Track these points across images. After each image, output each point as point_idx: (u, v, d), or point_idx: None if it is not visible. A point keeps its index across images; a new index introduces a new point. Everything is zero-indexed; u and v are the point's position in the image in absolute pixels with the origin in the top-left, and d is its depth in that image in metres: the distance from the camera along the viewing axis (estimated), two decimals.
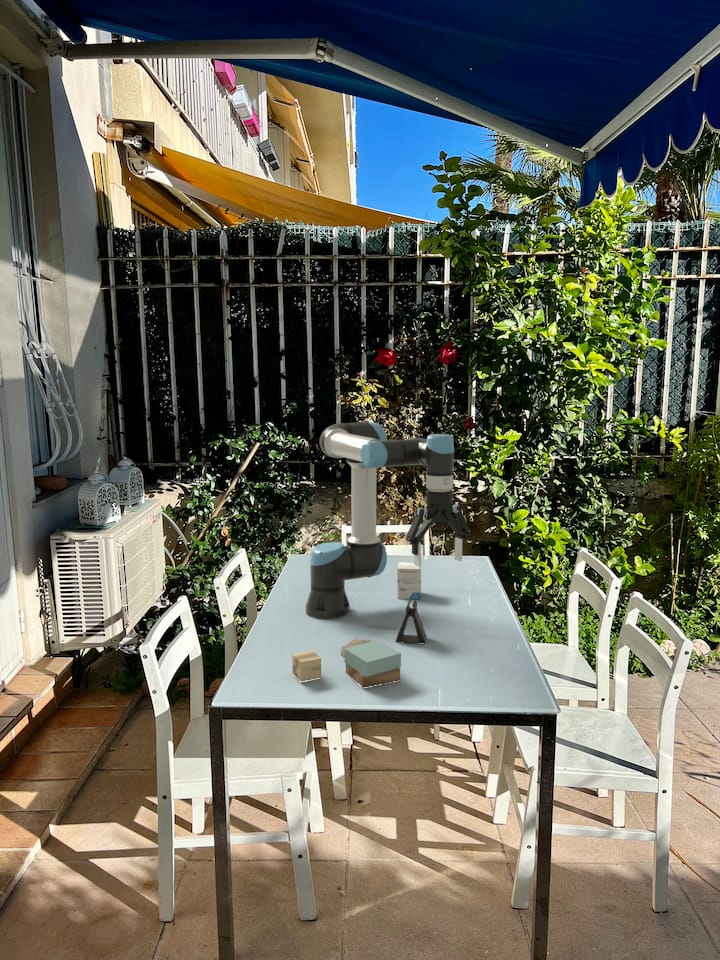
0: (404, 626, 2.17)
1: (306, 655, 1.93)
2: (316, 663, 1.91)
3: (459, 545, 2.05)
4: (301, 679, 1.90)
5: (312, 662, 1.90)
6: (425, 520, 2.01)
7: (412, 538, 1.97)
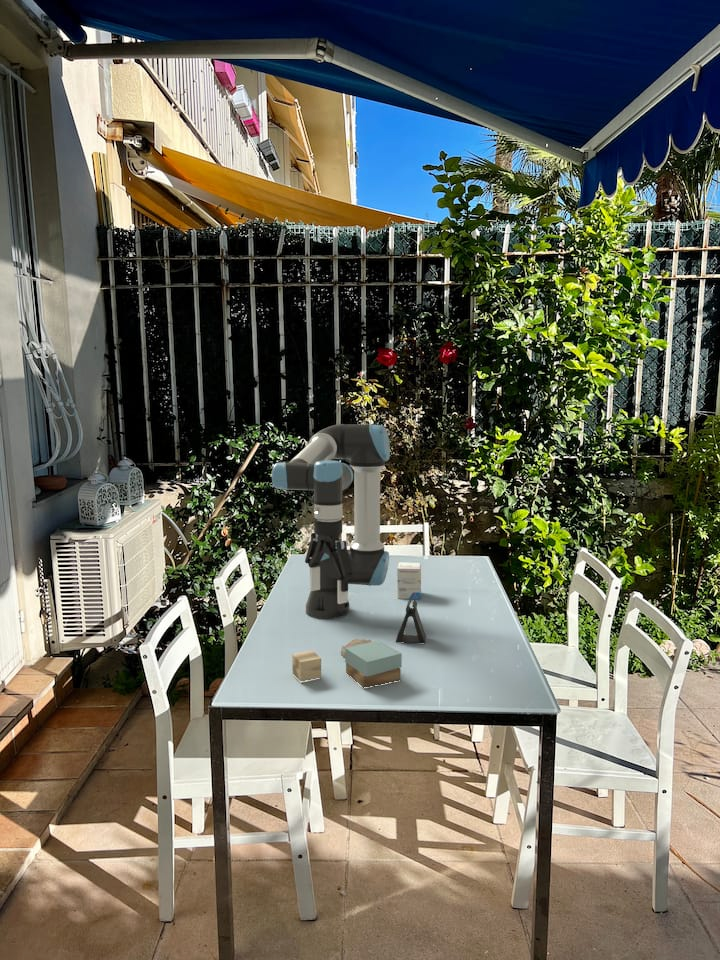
0: (404, 626, 2.17)
1: (306, 655, 1.93)
2: (316, 663, 1.91)
3: None
4: (301, 679, 1.90)
5: (312, 662, 1.90)
6: None
7: (306, 559, 1.98)
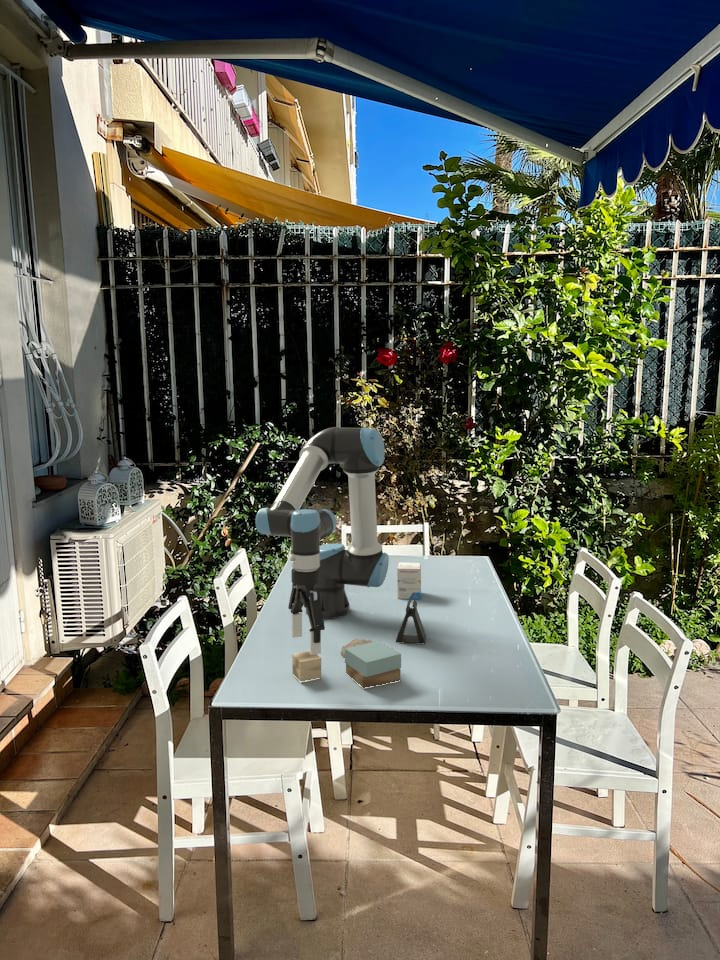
0: (404, 626, 2.17)
1: (306, 655, 1.93)
2: (316, 663, 1.91)
3: None
4: (301, 679, 1.90)
5: (312, 662, 1.90)
6: None
7: (289, 605, 1.99)
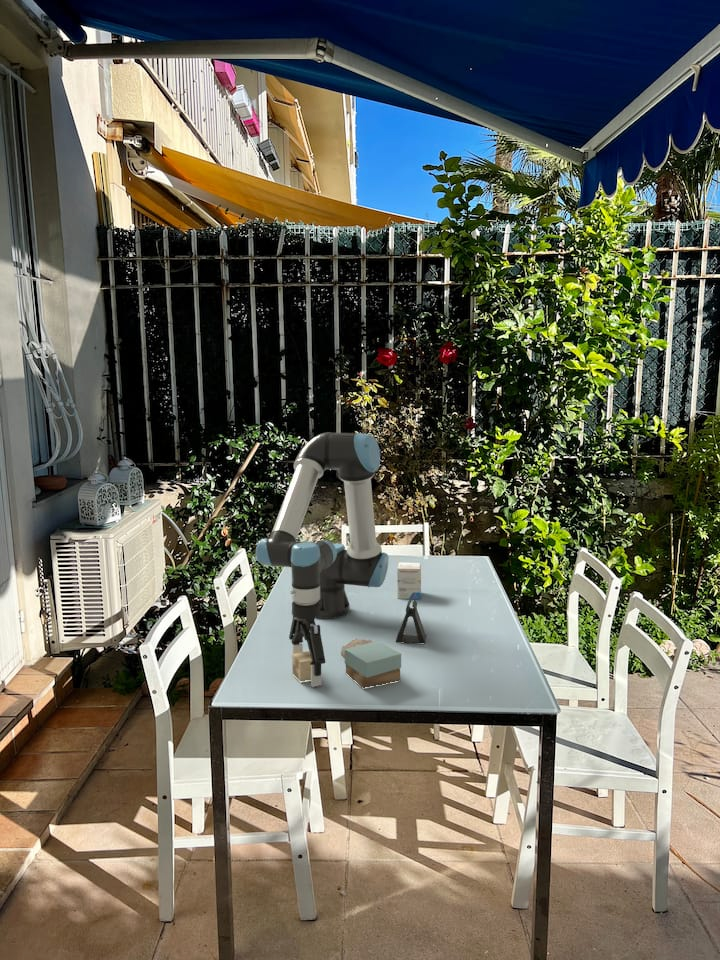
0: (404, 626, 2.17)
1: (306, 655, 1.93)
2: None
3: None
4: (301, 679, 1.90)
5: None
6: None
7: (290, 636, 2.00)
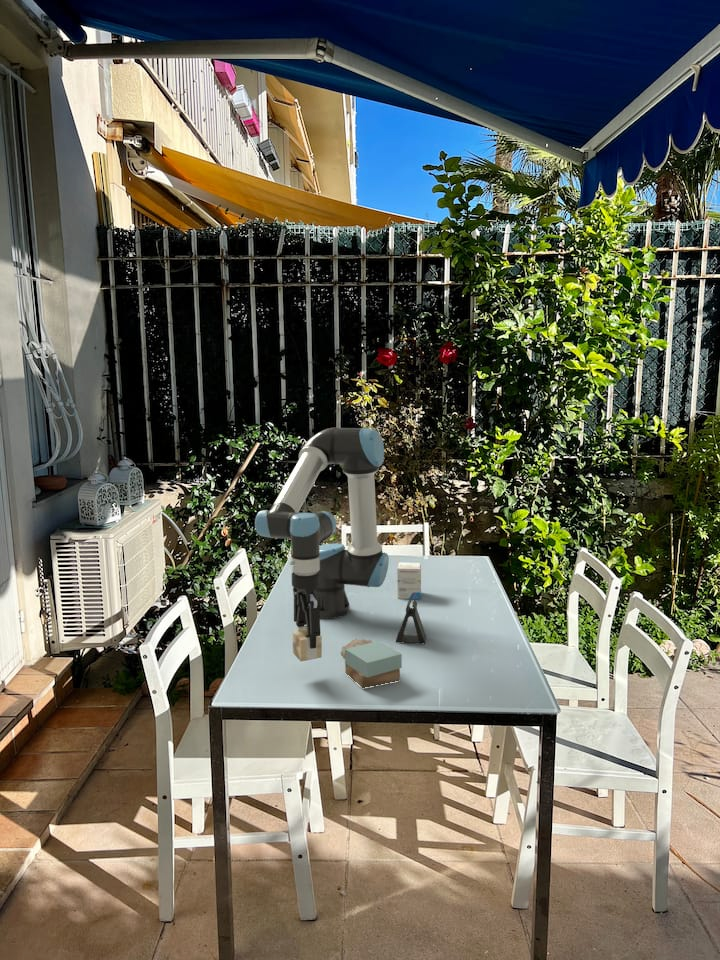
0: (404, 626, 2.17)
1: (307, 634, 1.92)
2: (317, 641, 1.91)
3: None
4: (301, 657, 1.89)
5: None
6: None
7: (294, 617, 1.97)
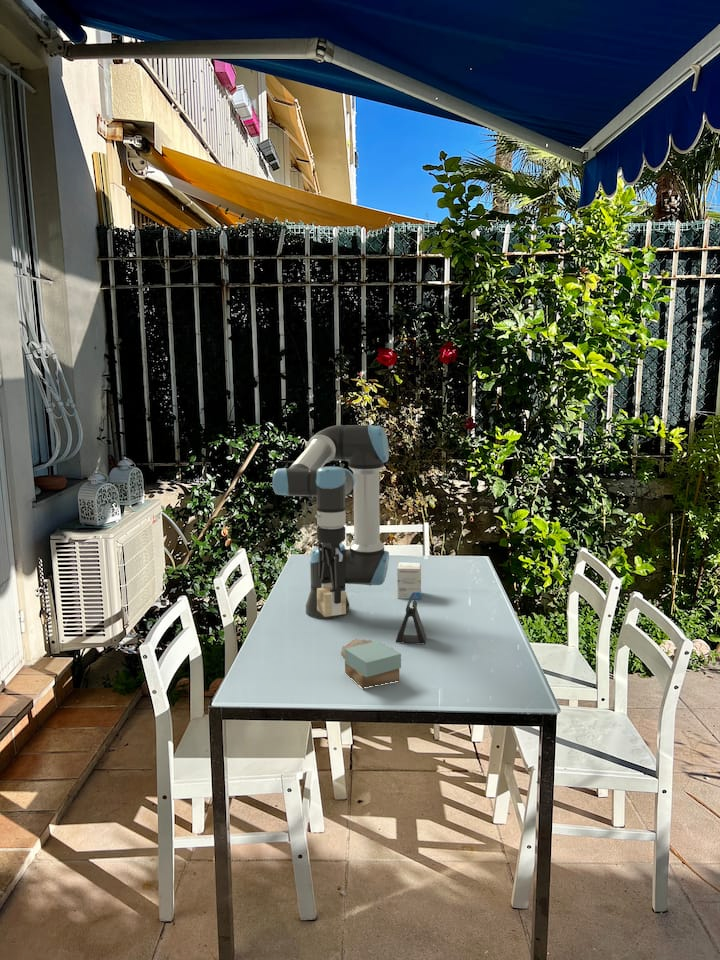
0: (404, 626, 2.17)
1: None
2: None
3: None
4: (325, 612, 1.87)
5: None
6: None
7: (319, 574, 1.94)
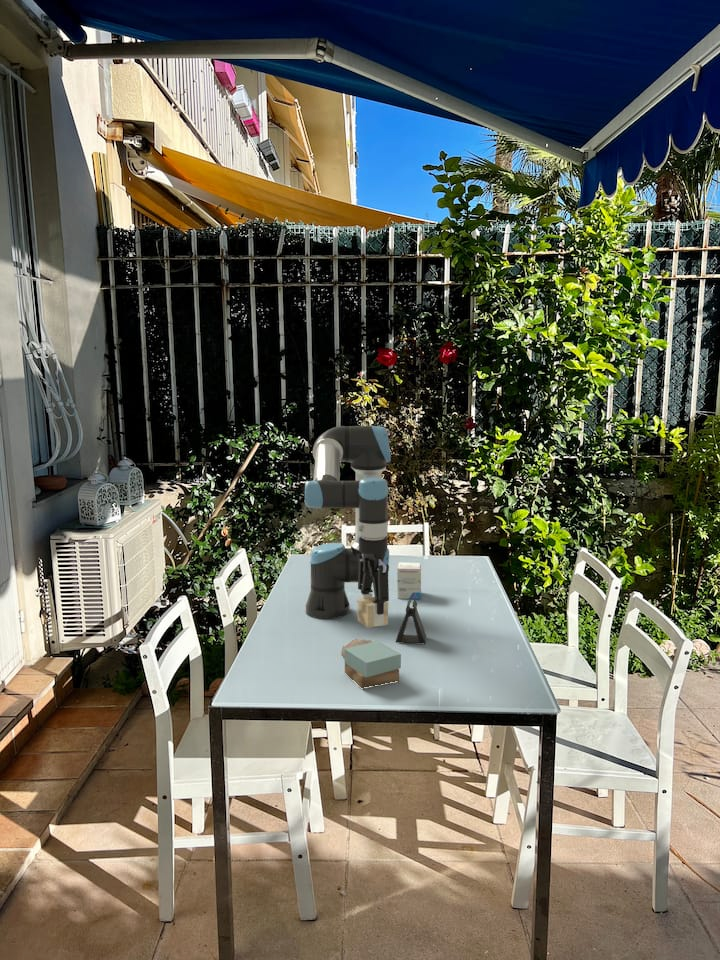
0: (404, 626, 2.17)
1: (373, 600, 1.90)
2: (384, 608, 1.88)
3: None
4: (368, 623, 1.87)
5: None
6: None
7: (358, 585, 1.95)
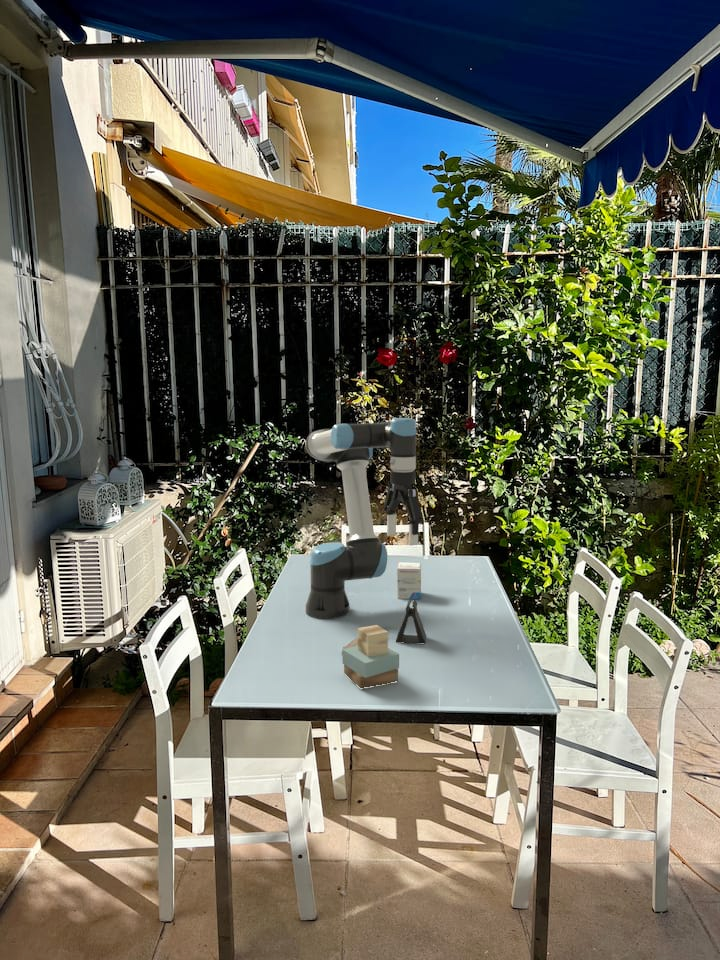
0: (404, 626, 2.17)
1: (372, 629, 1.91)
2: (383, 637, 1.90)
3: None
4: (369, 653, 1.88)
5: (379, 635, 1.89)
6: None
7: (384, 507, 2.21)
